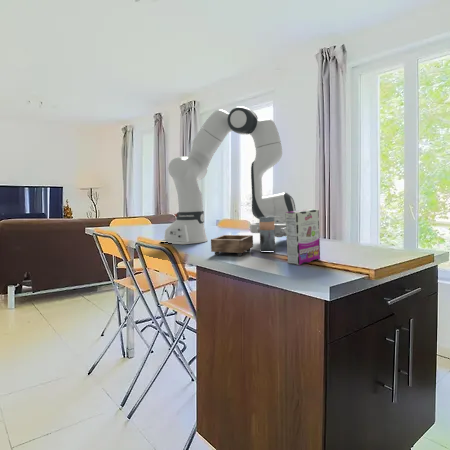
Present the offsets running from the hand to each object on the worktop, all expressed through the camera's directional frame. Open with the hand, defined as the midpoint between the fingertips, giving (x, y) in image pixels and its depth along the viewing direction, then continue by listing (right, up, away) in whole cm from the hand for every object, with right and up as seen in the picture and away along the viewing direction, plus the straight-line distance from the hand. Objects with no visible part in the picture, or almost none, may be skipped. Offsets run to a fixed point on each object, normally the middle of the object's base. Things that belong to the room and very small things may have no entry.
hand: (270, 230), depth 137 cm
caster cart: (-14, -8, -3) cm, 17 cm away
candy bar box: (+8, -10, -22) cm, 26 cm away
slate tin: (-1, -8, -3) cm, 9 cm away
